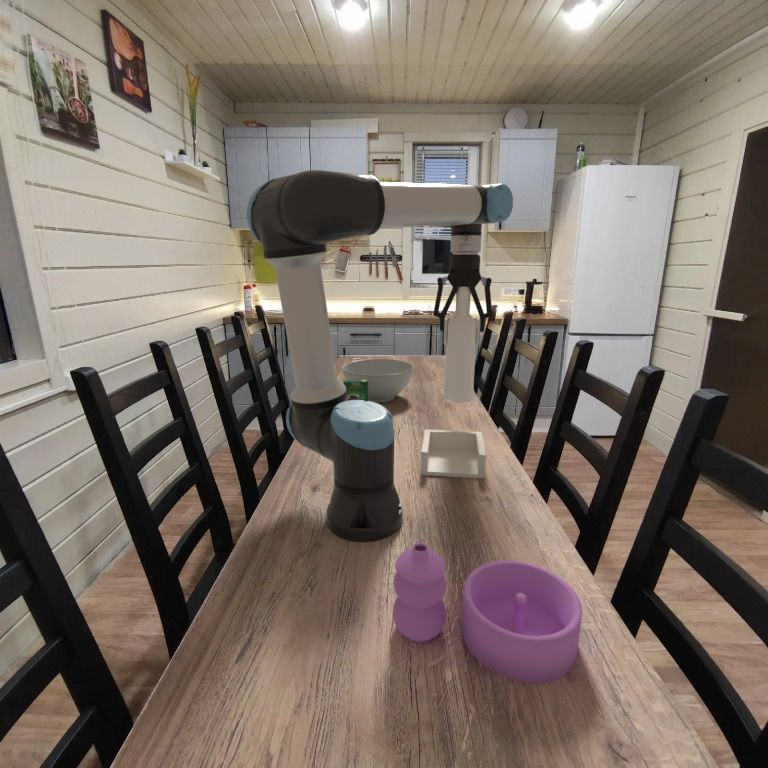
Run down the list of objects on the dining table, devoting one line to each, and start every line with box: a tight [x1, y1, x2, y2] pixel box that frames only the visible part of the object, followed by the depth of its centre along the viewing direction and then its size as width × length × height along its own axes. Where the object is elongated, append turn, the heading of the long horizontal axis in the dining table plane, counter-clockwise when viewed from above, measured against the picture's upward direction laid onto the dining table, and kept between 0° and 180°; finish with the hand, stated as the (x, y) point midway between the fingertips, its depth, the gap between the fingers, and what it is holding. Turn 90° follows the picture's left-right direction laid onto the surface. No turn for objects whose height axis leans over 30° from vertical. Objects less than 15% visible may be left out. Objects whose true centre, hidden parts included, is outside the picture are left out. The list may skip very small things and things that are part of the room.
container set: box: [392, 542, 583, 685], centre depth 62 cm, size 25×15×13 cm, turn 85°
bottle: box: [443, 287, 477, 404], centre depth 121 cm, size 8×8×30 cm
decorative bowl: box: [341, 358, 415, 403], centre depth 171 cm, size 27×27×12 cm
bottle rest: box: [420, 429, 486, 480], centre depth 116 cm, size 15×15×6 cm
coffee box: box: [342, 379, 368, 402], centre depth 148 cm, size 8×3×13 cm, turn 99°
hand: (461, 343), depth 121 cm, fingers closed on bottle, 8 cm apart
